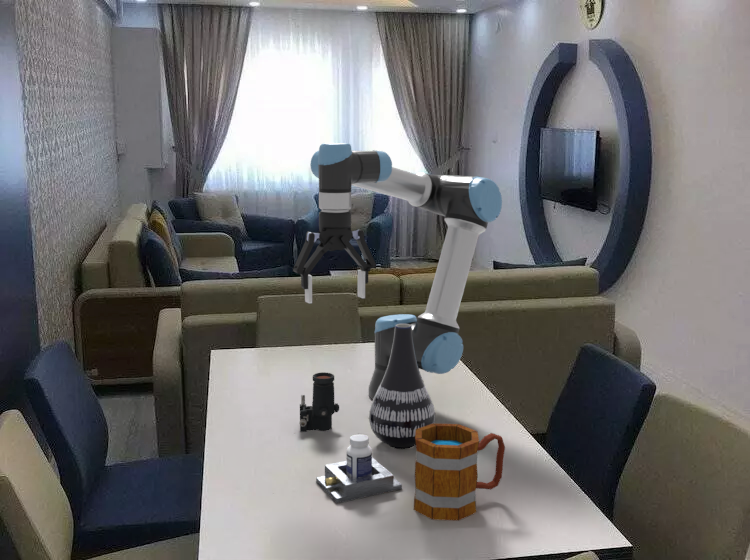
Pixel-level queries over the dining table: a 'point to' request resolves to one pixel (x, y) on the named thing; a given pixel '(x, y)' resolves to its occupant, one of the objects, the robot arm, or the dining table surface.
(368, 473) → the pill bottle
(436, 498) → the mug
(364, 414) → the dining table surface
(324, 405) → the scope
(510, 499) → the dining table surface
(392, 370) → the vase
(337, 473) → the coupler block
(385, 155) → the robot arm
